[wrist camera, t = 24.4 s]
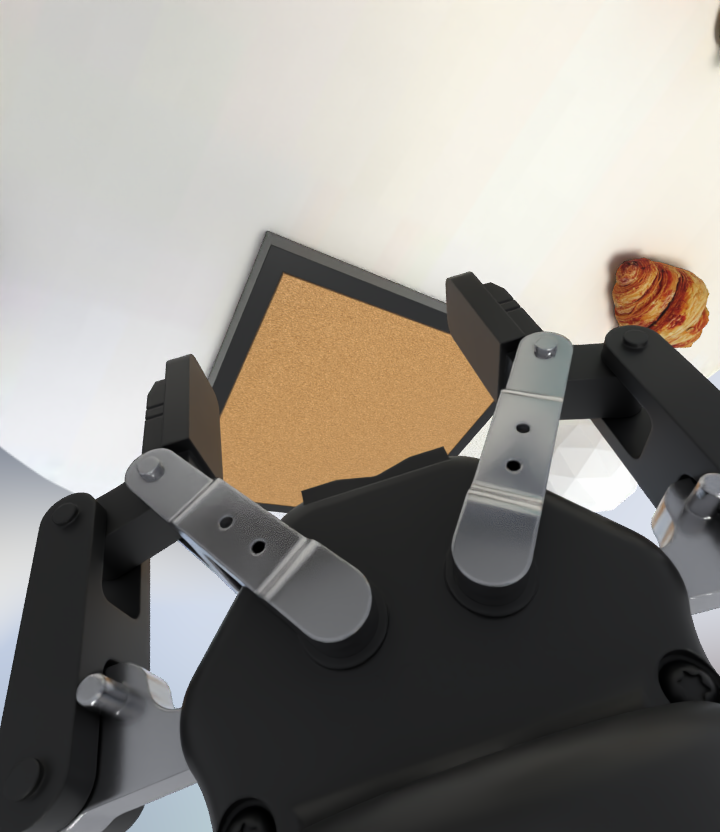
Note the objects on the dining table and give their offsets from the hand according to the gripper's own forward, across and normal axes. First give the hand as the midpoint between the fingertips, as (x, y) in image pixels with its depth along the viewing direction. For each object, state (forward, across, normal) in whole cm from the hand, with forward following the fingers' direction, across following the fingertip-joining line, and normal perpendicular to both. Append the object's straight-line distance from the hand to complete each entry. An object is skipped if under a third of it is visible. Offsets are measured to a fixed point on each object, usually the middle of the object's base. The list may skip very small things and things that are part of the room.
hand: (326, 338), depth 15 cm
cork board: (+30, -1, +34) cm, 46 cm away
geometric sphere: (+30, -32, +51) cm, 67 cm away
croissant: (+30, -41, +31) cm, 59 cm away
